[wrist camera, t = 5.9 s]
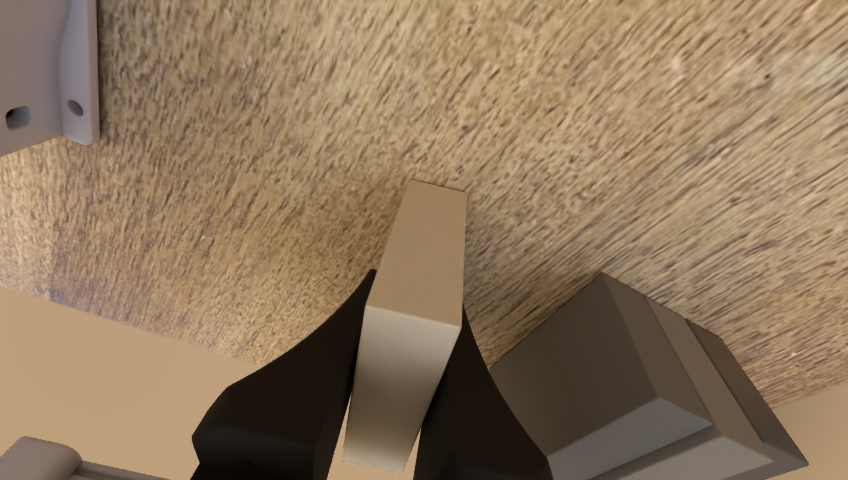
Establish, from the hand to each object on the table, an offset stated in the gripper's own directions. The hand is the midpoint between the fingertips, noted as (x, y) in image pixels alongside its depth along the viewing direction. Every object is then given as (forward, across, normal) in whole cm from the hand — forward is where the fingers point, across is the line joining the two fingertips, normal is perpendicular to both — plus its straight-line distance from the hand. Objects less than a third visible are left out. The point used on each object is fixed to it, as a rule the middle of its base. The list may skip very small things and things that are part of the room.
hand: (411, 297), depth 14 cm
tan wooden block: (+2, 0, 0) cm, 2 cm away
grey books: (+2, -9, +3) cm, 10 cm away
